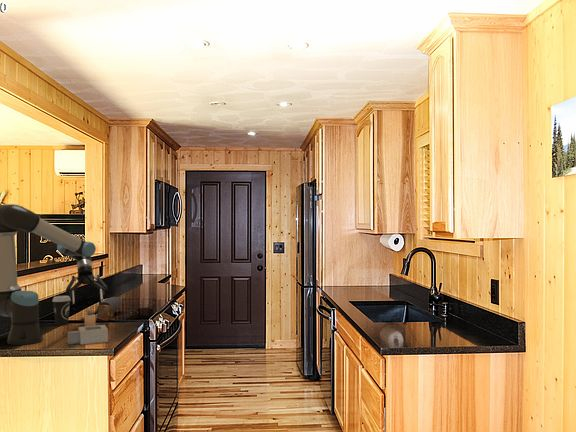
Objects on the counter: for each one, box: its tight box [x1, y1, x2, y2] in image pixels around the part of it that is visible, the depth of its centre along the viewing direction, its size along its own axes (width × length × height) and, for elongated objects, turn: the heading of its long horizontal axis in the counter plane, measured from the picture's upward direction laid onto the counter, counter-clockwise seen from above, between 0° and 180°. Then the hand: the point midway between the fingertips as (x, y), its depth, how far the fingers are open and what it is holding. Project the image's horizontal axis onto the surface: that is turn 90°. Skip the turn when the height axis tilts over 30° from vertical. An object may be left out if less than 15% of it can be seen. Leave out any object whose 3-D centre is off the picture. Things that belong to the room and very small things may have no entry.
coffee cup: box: [51, 295, 72, 326], centre depth 305 cm, size 10×10×15 cm
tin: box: [96, 304, 114, 322], centre depth 316 cm, size 15×3×8 cm, turn 46°
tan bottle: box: [84, 309, 96, 327], centre depth 274 cm, size 5×5×12 cm
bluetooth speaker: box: [96, 296, 122, 315], centre depth 332 cm, size 23×9×10 cm, turn 3°
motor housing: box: [67, 324, 109, 346], centre depth 261 cm, size 12×17×6 cm
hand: (87, 301), depth 284 cm, fingers open, 13 cm apart
